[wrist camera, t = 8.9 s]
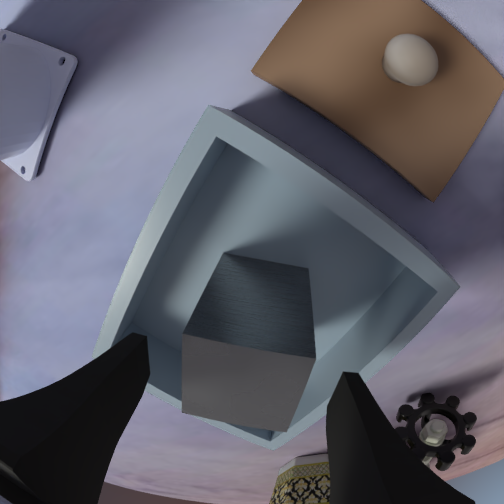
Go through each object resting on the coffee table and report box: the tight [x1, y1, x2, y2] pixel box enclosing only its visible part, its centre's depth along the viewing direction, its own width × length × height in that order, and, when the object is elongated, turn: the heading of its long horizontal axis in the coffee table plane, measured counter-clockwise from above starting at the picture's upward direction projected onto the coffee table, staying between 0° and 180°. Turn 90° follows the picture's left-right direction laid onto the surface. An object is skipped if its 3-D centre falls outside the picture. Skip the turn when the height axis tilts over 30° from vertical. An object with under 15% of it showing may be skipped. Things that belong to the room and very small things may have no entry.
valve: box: [395, 393, 477, 471], centre depth 18 cm, size 7×7×12 cm
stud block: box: [251, 0, 504, 203], centre depth 10 cm, size 10×8×4 cm
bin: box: [92, 105, 460, 451], centre depth 15 cm, size 12×14×4 cm
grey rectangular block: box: [182, 253, 316, 432], centre depth 13 cm, size 4×4×6 cm
